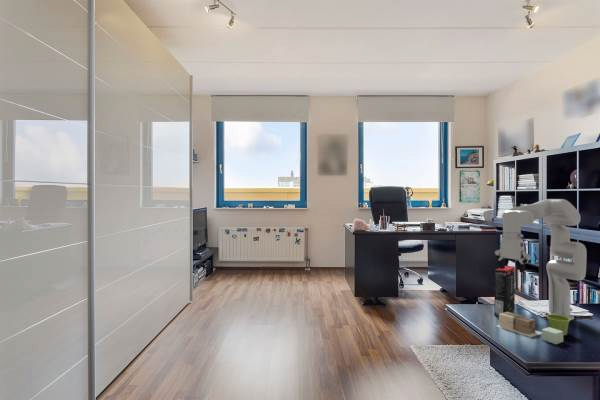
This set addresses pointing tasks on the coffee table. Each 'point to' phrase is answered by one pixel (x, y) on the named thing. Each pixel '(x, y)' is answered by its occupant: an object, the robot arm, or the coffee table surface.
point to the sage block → (552, 335)
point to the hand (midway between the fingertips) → (512, 270)
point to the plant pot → (558, 322)
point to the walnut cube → (525, 325)
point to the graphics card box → (504, 290)
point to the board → (523, 333)
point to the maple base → (508, 320)
